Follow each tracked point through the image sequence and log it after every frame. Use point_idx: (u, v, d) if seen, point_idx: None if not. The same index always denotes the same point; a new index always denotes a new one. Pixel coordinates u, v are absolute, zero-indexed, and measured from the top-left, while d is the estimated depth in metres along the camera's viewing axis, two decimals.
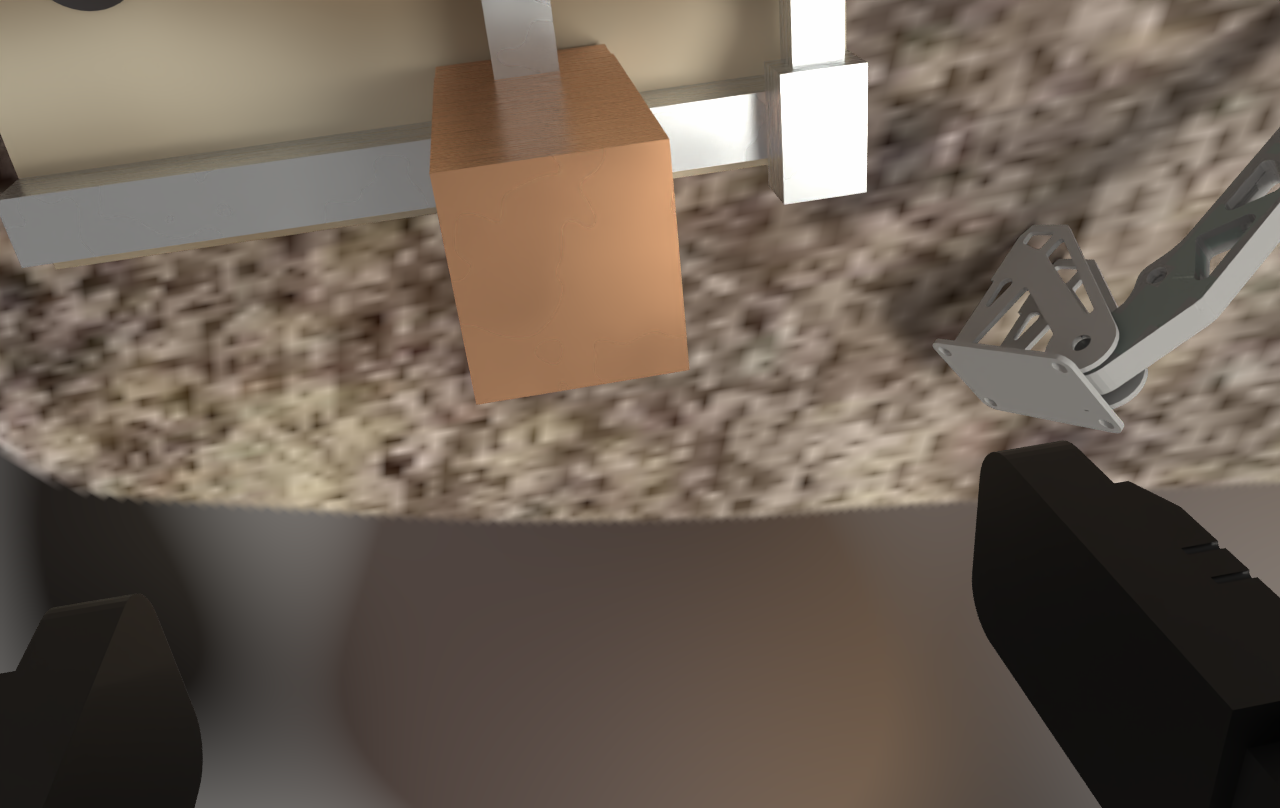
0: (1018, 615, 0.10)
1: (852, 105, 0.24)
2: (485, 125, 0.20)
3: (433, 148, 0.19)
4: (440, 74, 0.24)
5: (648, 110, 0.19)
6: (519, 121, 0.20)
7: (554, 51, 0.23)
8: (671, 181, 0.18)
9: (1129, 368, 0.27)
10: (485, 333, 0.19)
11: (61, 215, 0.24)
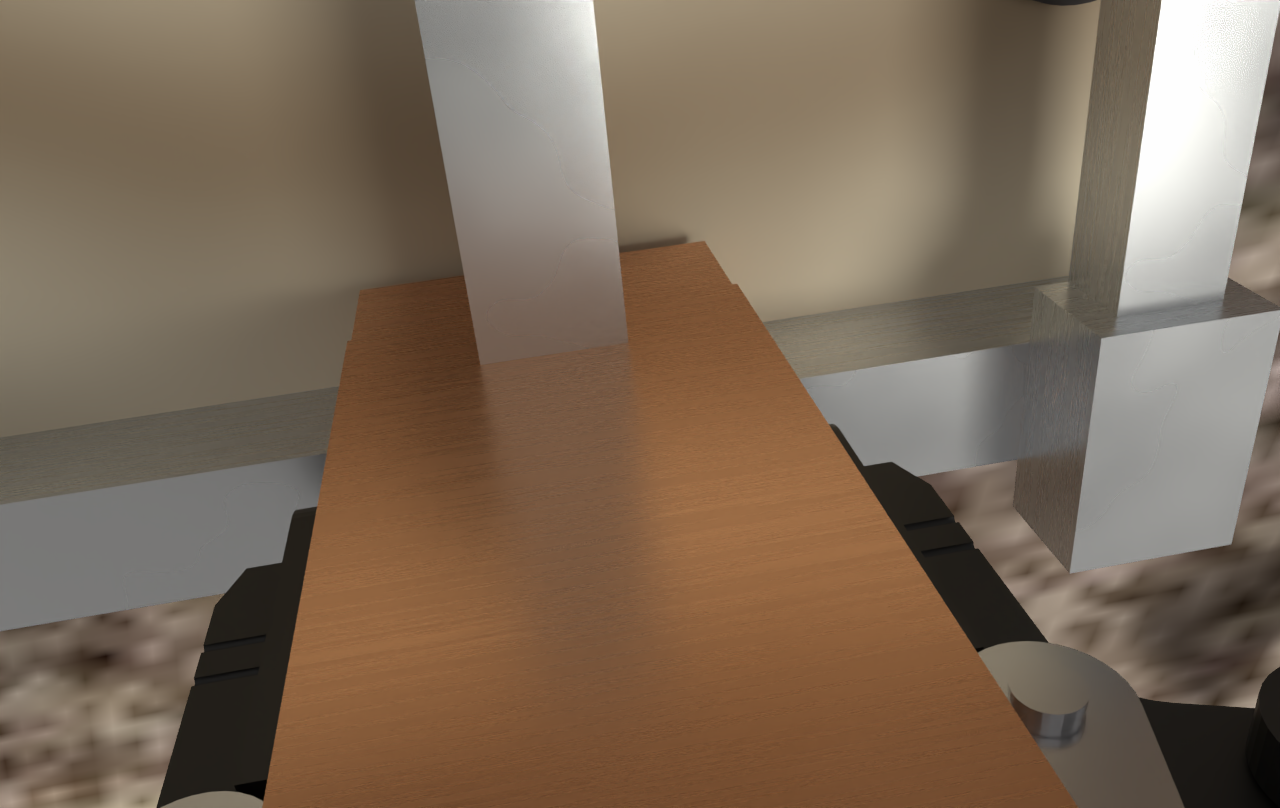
0: None
1: (1236, 391, 0.11)
2: (452, 617, 0.07)
3: (279, 766, 0.06)
4: (365, 319, 0.11)
5: (927, 586, 0.07)
6: (549, 604, 0.07)
7: (618, 303, 0.10)
8: None
9: None
10: None
11: None
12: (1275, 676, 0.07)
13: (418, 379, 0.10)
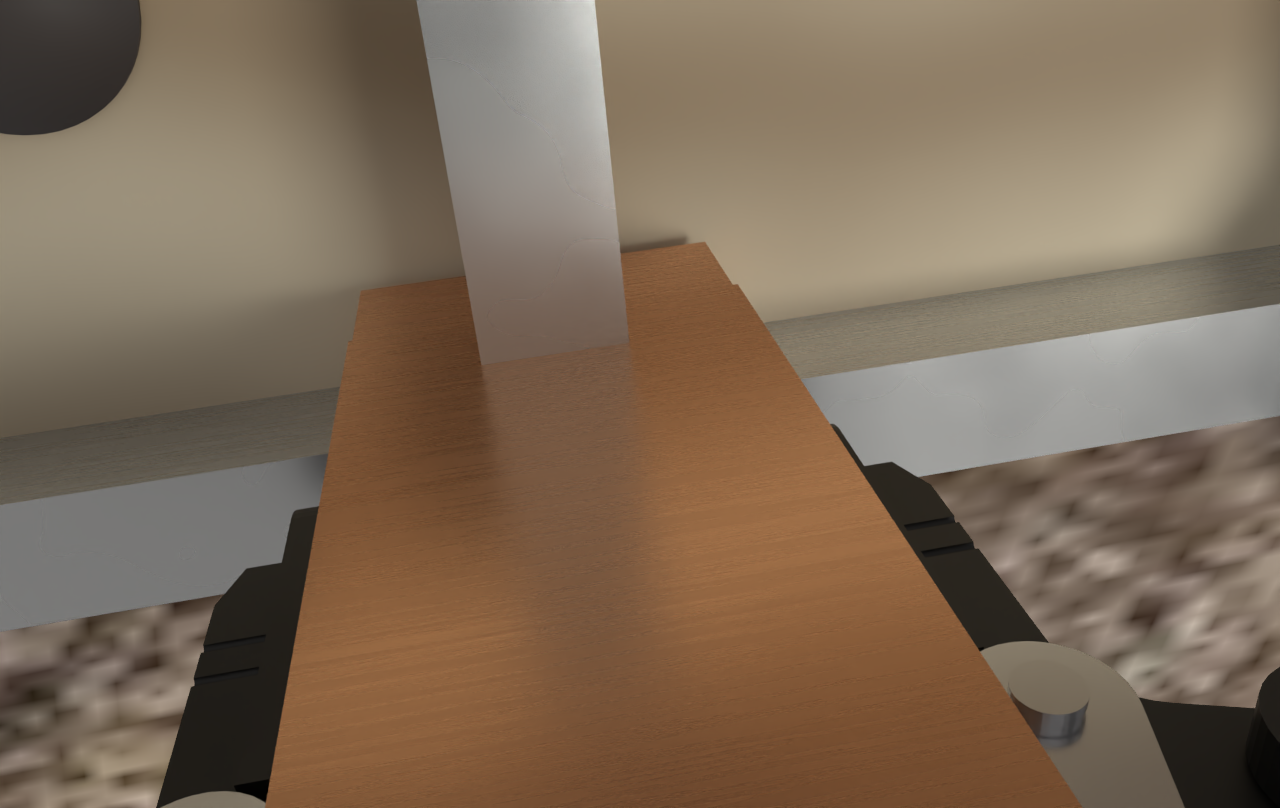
0: None
1: None
2: (454, 616, 0.07)
3: (282, 763, 0.06)
4: (366, 319, 0.11)
5: (929, 585, 0.07)
6: (550, 602, 0.07)
7: (619, 303, 0.10)
8: None
9: None
10: None
11: None
12: (1275, 676, 0.07)
13: (419, 379, 0.10)
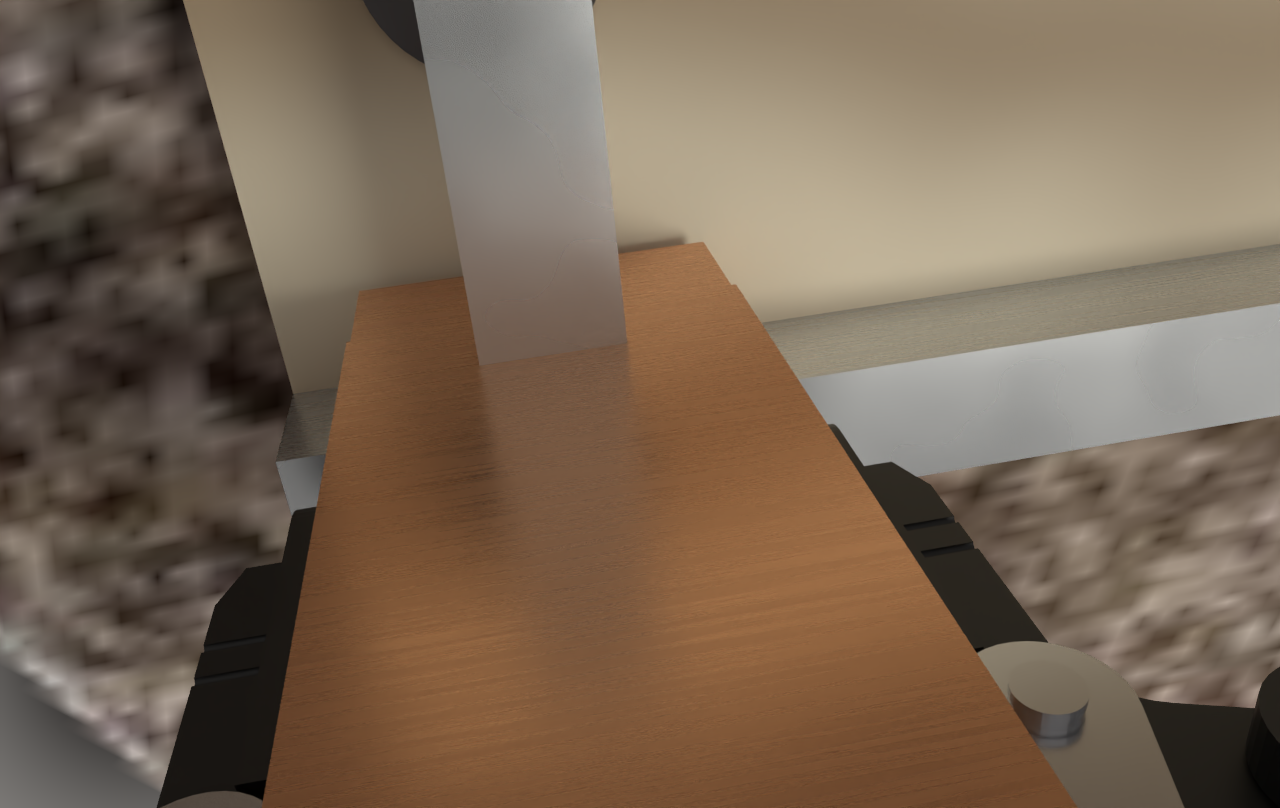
0: None
1: None
2: (451, 617, 0.07)
3: (278, 766, 0.06)
4: (365, 320, 0.11)
5: (926, 586, 0.07)
6: (549, 604, 0.07)
7: (617, 304, 0.10)
8: None
9: None
10: None
11: None
12: (1275, 676, 0.07)
13: (417, 380, 0.10)
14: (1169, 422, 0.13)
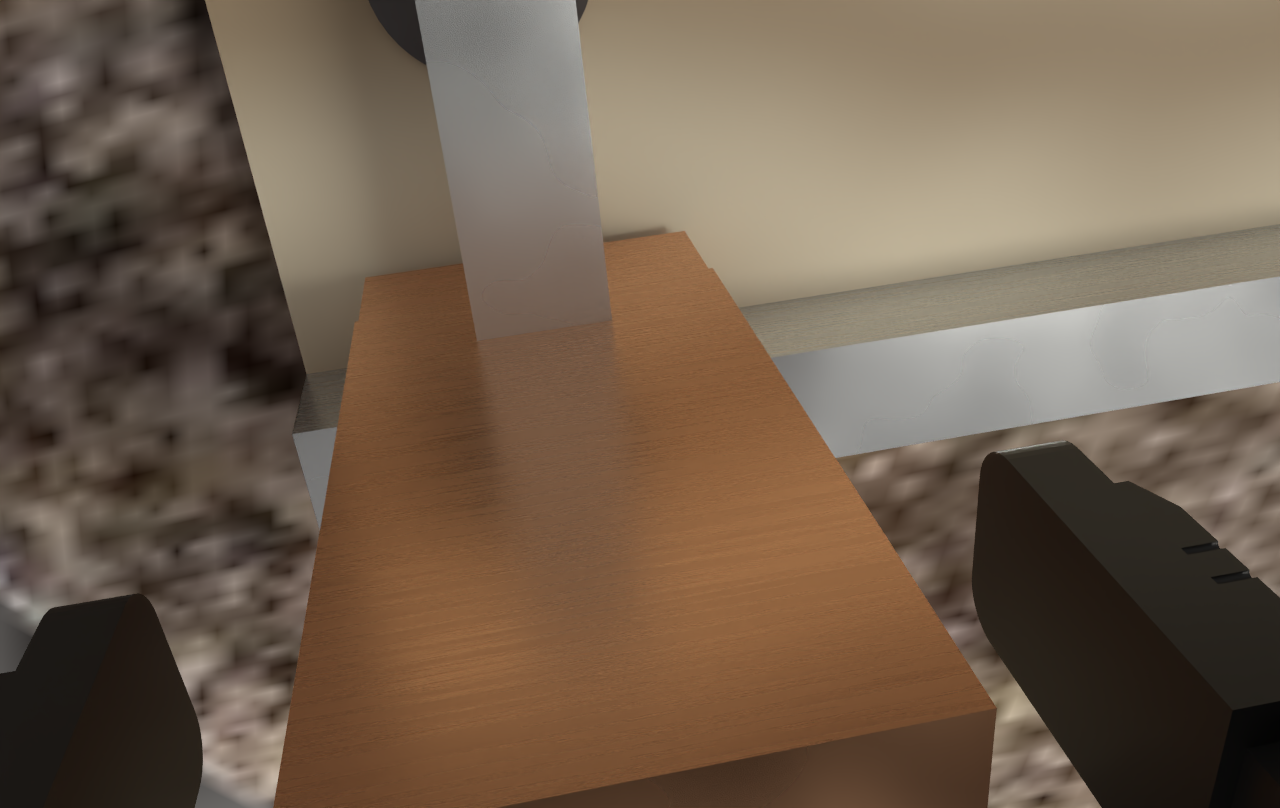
0: (1018, 615, 0.10)
1: None
2: (453, 550, 0.08)
3: (305, 667, 0.07)
4: (371, 303, 0.12)
5: (868, 518, 0.08)
6: (538, 538, 0.08)
7: (602, 284, 0.11)
8: (975, 785, 0.06)
9: None
10: None
11: None
12: None
13: (420, 354, 0.11)
14: (1122, 398, 0.14)
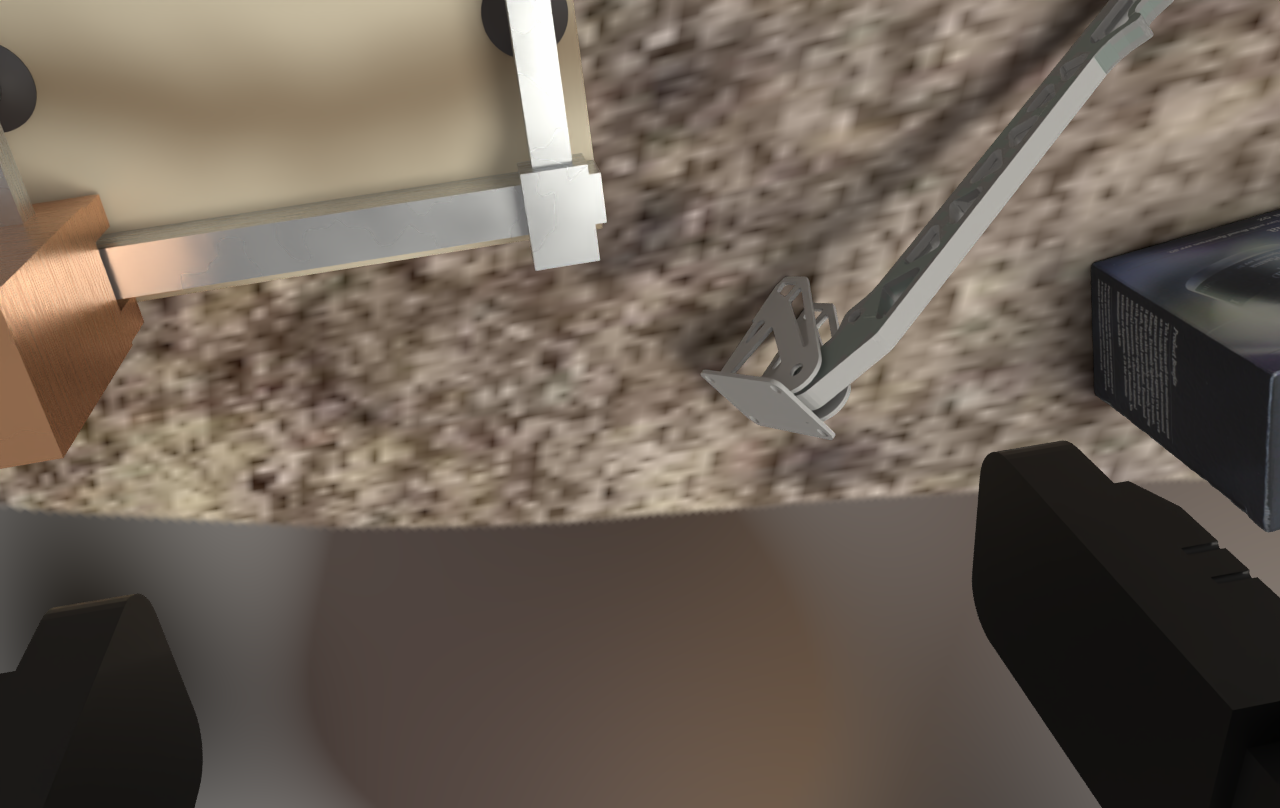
0: (1018, 615, 0.10)
1: (579, 196, 0.32)
2: None
3: None
4: None
5: (20, 265, 0.26)
6: None
7: (15, 209, 0.29)
8: (9, 322, 0.25)
9: (831, 388, 0.34)
10: None
11: None
12: None
13: None
14: (303, 264, 0.33)
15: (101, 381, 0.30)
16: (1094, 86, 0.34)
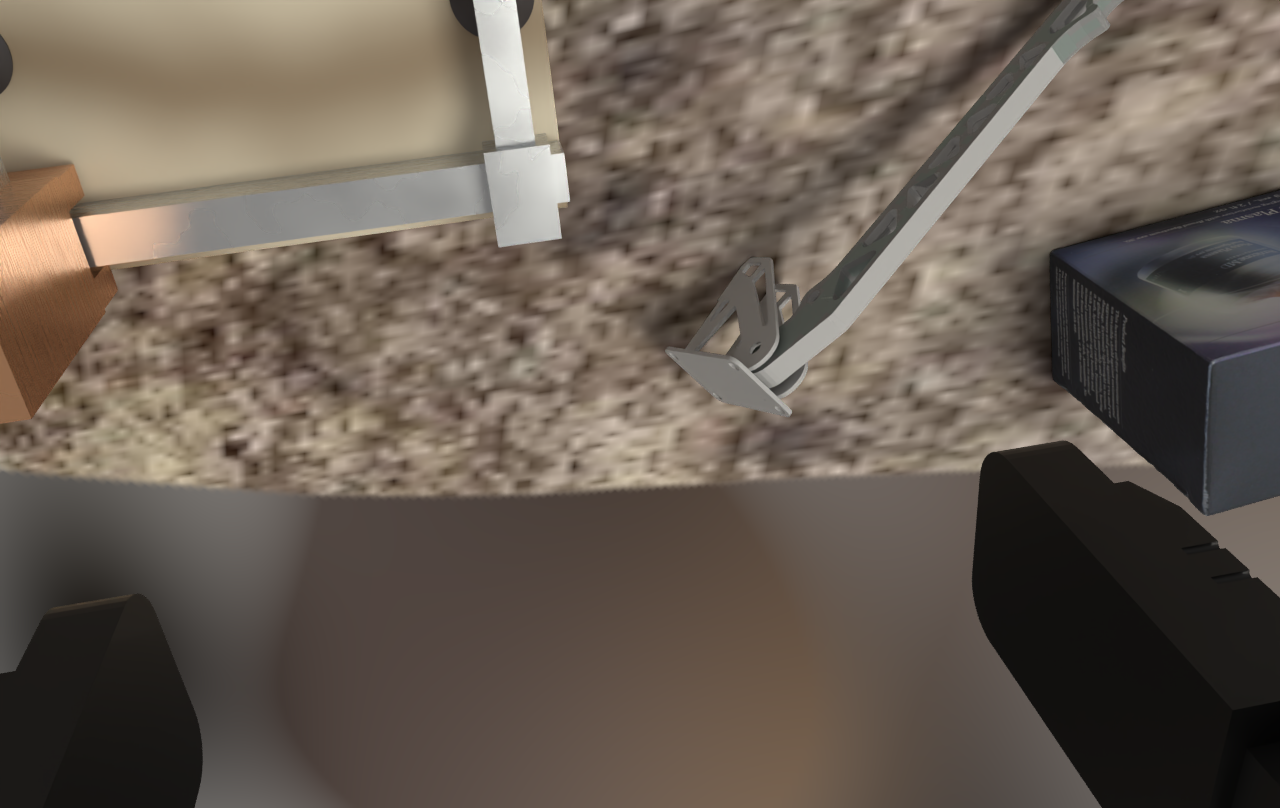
0: (1018, 615, 0.10)
1: (542, 175, 0.33)
2: None
3: None
4: None
5: None
6: None
7: None
8: None
9: (788, 366, 0.35)
10: None
11: None
12: None
13: None
14: (272, 237, 0.34)
15: (72, 346, 0.31)
16: (1052, 75, 0.35)
